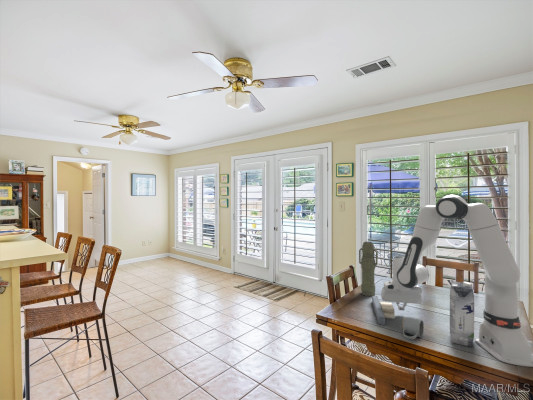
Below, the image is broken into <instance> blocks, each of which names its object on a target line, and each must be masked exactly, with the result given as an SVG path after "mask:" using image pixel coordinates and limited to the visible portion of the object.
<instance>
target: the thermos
mask: <svg viewBox="0 0 533 400" xmlns="http://www.w3.org/2000/svg"><path fill="white" fill-rule="evenodd" d="M378 253H379V252H378V250H377V249H375V245H374V242H372V241H364V242H363V243H362V247H361V248H360V249H359V250H358V263H359V264H360V268H361V285H360V290H361V292H360V293H362V294H361V295H362V296H364V295H365V296H364V297H372V296H376V284H375V270H376V267H377V266H378V261H379V260H378V259H379V257H378V256H379V254H378ZM361 254H362V256H361Z"/></svg>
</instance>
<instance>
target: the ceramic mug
mask: <svg viewBox="0 0 533 400" xmlns="http://www.w3.org/2000/svg"><path fill="white" fill-rule="evenodd" d="M424 327H425V325H424V320H423V319H419V318H415V317H414V318H413V317H410V316H404V317H403V318H402V320H401V329H402V335H403V337H404V338H405V339H407V340H415V339H416V338H417V337H418V338H422V337H423V335H424V332H425V331H424V330H425V329H424ZM408 334H409V335H412V336H409V335H408ZM407 335H408V336H407Z"/></svg>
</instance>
